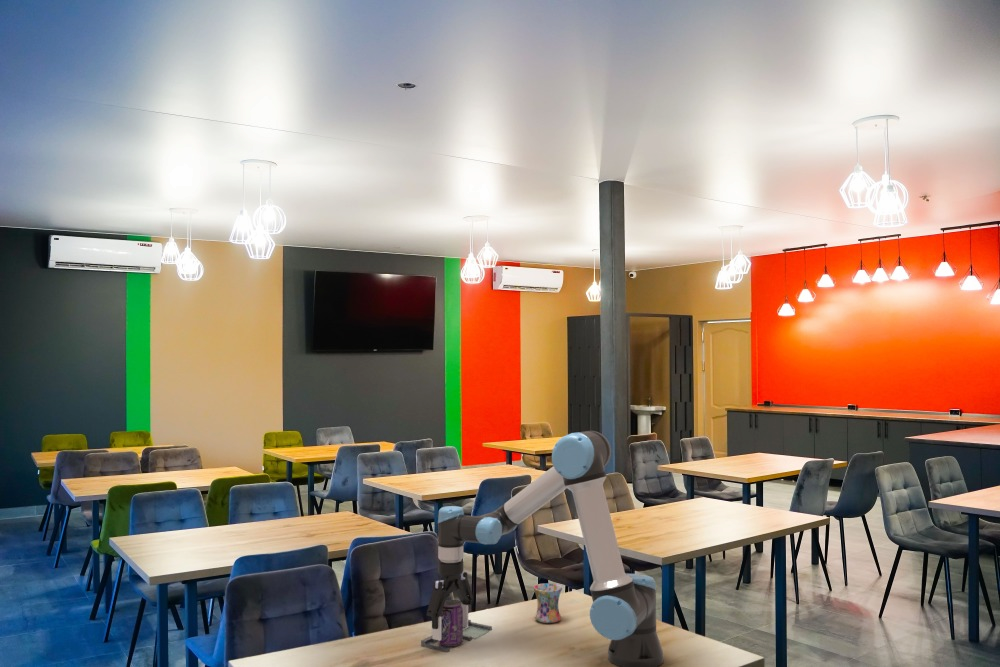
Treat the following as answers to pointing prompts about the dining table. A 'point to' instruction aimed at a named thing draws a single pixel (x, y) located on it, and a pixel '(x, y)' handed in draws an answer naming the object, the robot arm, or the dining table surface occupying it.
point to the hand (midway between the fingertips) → (450, 633)
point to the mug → (547, 602)
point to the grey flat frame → (467, 635)
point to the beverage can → (451, 623)
